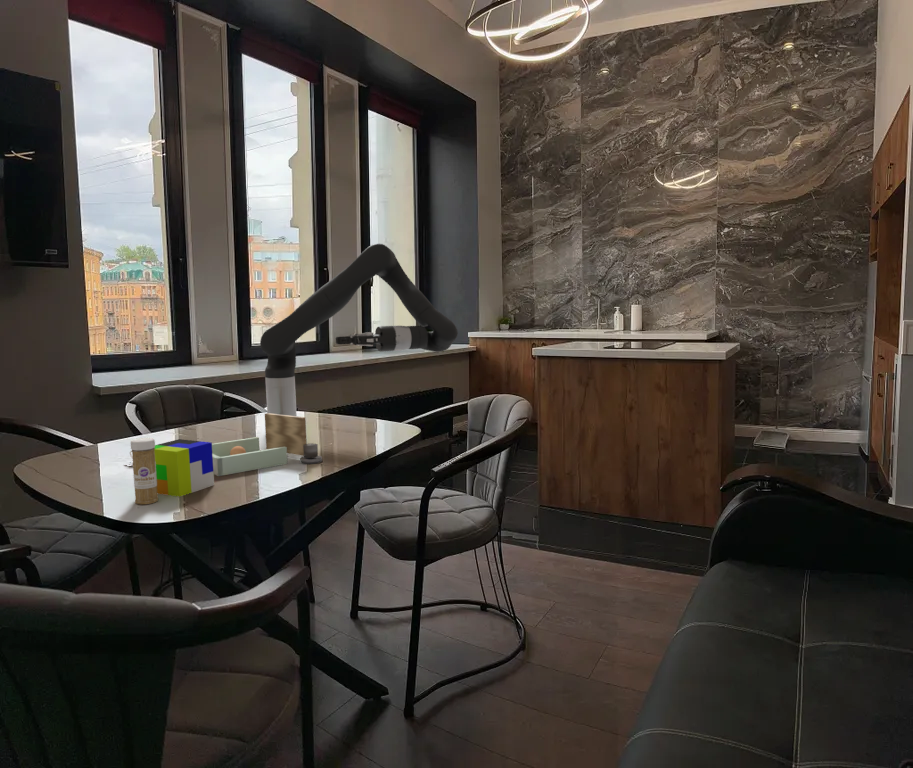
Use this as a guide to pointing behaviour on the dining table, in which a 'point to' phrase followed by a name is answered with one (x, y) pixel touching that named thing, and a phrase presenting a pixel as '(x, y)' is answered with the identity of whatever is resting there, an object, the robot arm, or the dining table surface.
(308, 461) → the pivot disc
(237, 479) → the dining table surface
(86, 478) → the dining table surface
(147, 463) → the sprinkles bottle
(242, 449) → the ball
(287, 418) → the tan wooden flat panel
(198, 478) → the puzzle toy
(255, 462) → the tray
